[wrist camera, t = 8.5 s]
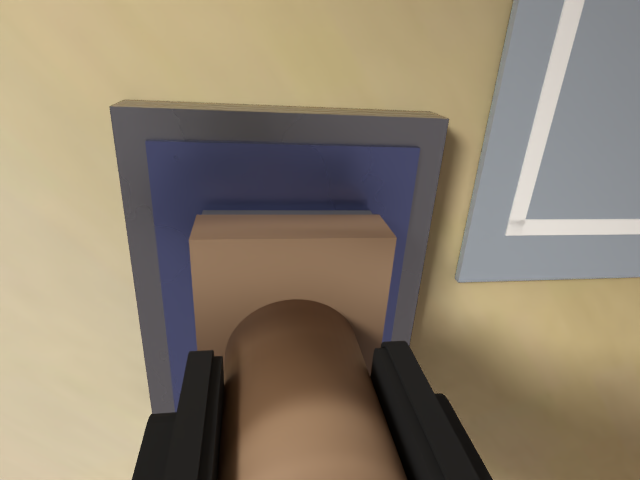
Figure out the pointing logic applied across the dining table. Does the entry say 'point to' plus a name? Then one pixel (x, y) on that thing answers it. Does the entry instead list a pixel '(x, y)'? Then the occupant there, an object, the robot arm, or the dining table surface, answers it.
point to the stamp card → (560, 148)
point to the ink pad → (262, 197)
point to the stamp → (296, 340)
